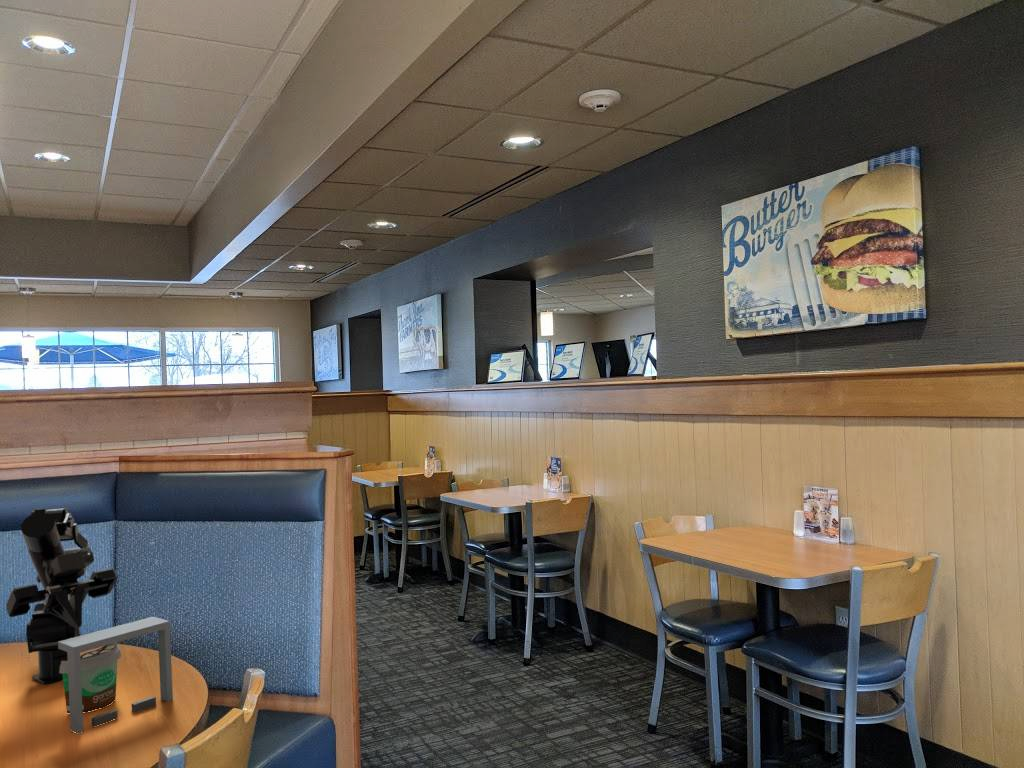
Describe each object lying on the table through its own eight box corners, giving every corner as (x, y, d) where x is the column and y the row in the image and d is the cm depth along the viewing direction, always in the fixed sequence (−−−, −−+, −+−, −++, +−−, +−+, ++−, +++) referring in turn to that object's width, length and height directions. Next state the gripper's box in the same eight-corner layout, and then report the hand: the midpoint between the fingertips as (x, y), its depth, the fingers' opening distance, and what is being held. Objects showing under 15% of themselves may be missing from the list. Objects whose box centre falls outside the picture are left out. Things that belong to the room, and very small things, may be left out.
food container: (90, 719, 139) (88, 662, 139) (60, 718, 140) (58, 662, 140) (137, 692, 151) (135, 640, 151) (109, 691, 152) (107, 639, 152)
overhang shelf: (61, 726, 136) (57, 641, 136) (156, 693, 150) (153, 616, 150) (77, 734, 132) (73, 647, 132) (172, 700, 146) (169, 621, 146)
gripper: (9, 545, 146) (37, 613, 139) (111, 528, 161) (140, 589, 154) (-6, 583, 151) (20, 650, 144) (95, 563, 165) (122, 623, 159)
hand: (79, 626), depth 150 cm, fingers closed
